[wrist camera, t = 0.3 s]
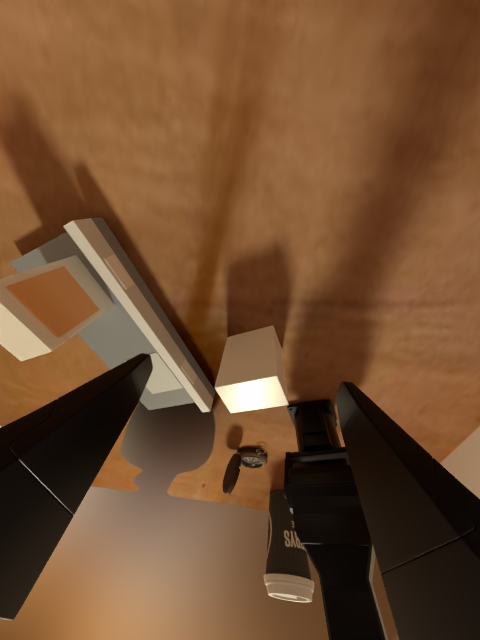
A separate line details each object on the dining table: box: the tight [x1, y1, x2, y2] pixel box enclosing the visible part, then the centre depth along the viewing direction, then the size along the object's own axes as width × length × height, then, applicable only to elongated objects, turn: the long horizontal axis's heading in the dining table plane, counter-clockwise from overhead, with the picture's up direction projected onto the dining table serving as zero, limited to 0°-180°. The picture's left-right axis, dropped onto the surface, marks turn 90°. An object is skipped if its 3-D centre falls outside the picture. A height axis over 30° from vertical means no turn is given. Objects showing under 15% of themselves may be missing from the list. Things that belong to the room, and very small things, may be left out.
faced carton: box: [0, 255, 115, 361], centre depth 19 cm, size 4×6×8 cm
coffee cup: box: [264, 490, 314, 602], centre depth 43 cm, size 10×10×15 cm
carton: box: [215, 325, 289, 413], centre depth 22 cm, size 4×6×8 cm
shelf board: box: [10, 217, 215, 412], centre depth 25 cm, size 26×12×4 cm, turn 21°
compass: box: [223, 448, 267, 496], centre depth 37 cm, size 8×8×7 cm
